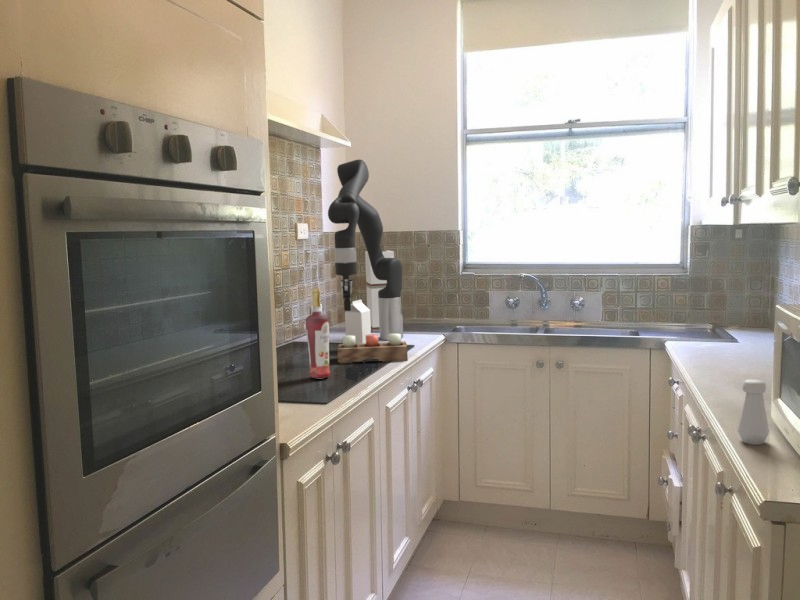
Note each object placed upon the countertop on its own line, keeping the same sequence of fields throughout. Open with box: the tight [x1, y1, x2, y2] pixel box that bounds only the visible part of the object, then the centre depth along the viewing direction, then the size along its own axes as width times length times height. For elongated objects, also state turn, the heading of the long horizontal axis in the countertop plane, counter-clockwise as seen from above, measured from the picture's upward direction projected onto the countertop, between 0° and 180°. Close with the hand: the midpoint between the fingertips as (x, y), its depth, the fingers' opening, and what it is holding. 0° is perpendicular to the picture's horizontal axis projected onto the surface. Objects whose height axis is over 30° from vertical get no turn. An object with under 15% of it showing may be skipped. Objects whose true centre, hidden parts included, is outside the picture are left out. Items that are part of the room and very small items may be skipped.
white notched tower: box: [364, 249, 395, 333], centre depth 305 cm, size 11×11×35 cm
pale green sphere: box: [342, 335, 356, 347], centre depth 240 cm, size 4×4×4 cm
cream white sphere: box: [388, 333, 402, 345], centre depth 241 cm, size 4×4×4 cm
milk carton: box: [344, 299, 372, 343], centre depth 257 cm, size 7×7×19 cm
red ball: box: [366, 333, 379, 346], centre depth 240 cm, size 4×4×4 cm
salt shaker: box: [737, 378, 770, 446], centre depth 141 cm, size 6×6×13 cm
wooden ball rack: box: [337, 340, 409, 363], centre depth 241 cm, size 24×10×5 cm, turn 93°
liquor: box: [305, 288, 332, 379], centre depth 213 cm, size 7×7×28 cm
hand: (347, 310), depth 239 cm, fingers closed
